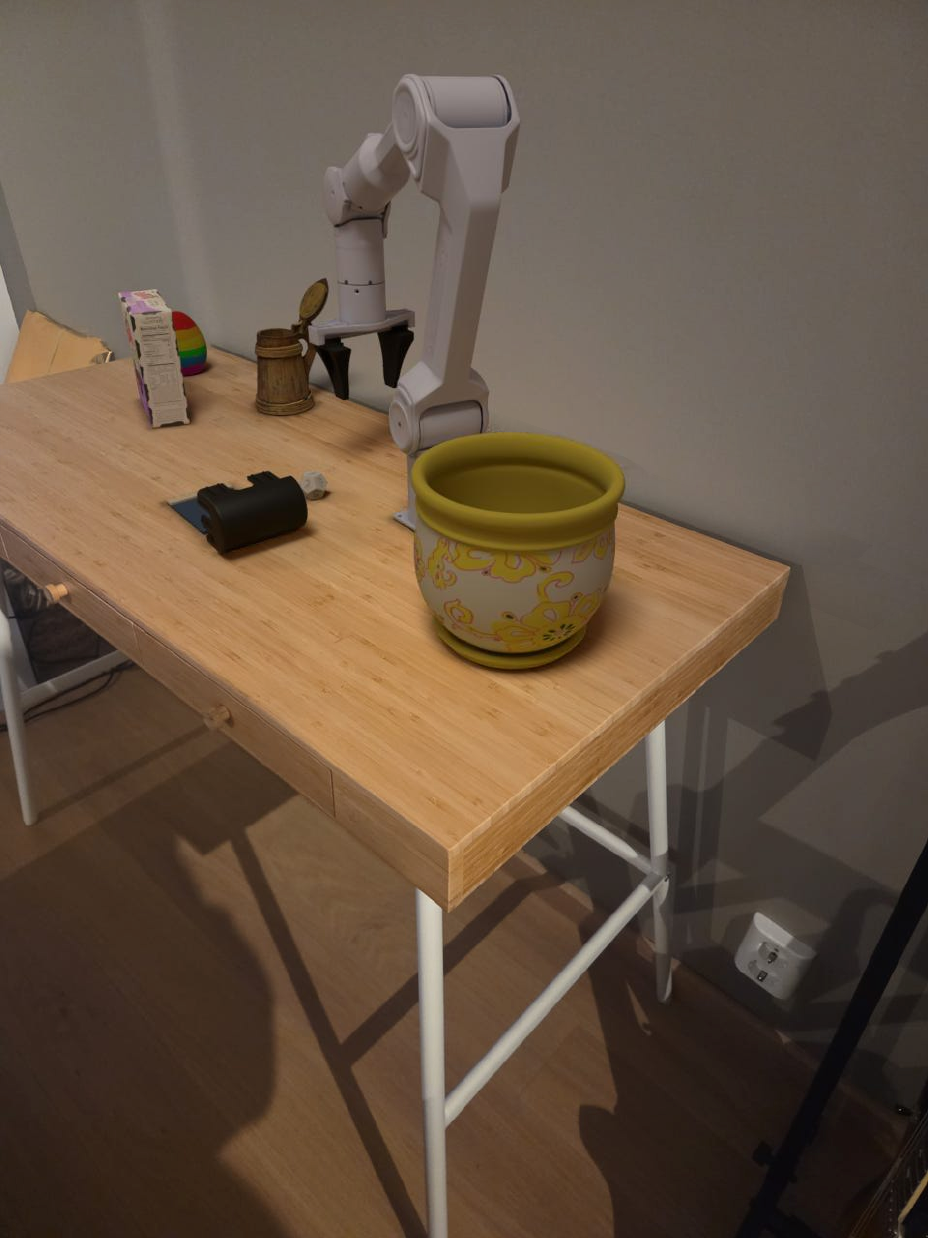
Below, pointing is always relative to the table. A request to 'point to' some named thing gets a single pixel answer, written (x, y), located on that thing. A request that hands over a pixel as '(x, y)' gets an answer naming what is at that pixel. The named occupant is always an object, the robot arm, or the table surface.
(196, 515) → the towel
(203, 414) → the table surface
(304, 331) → the wooden mug
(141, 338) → the candy box
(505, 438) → the flowerpot
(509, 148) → the robot arm
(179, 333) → the decorative egg
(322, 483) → the game die
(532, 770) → the table surface
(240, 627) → the table surface
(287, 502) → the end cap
